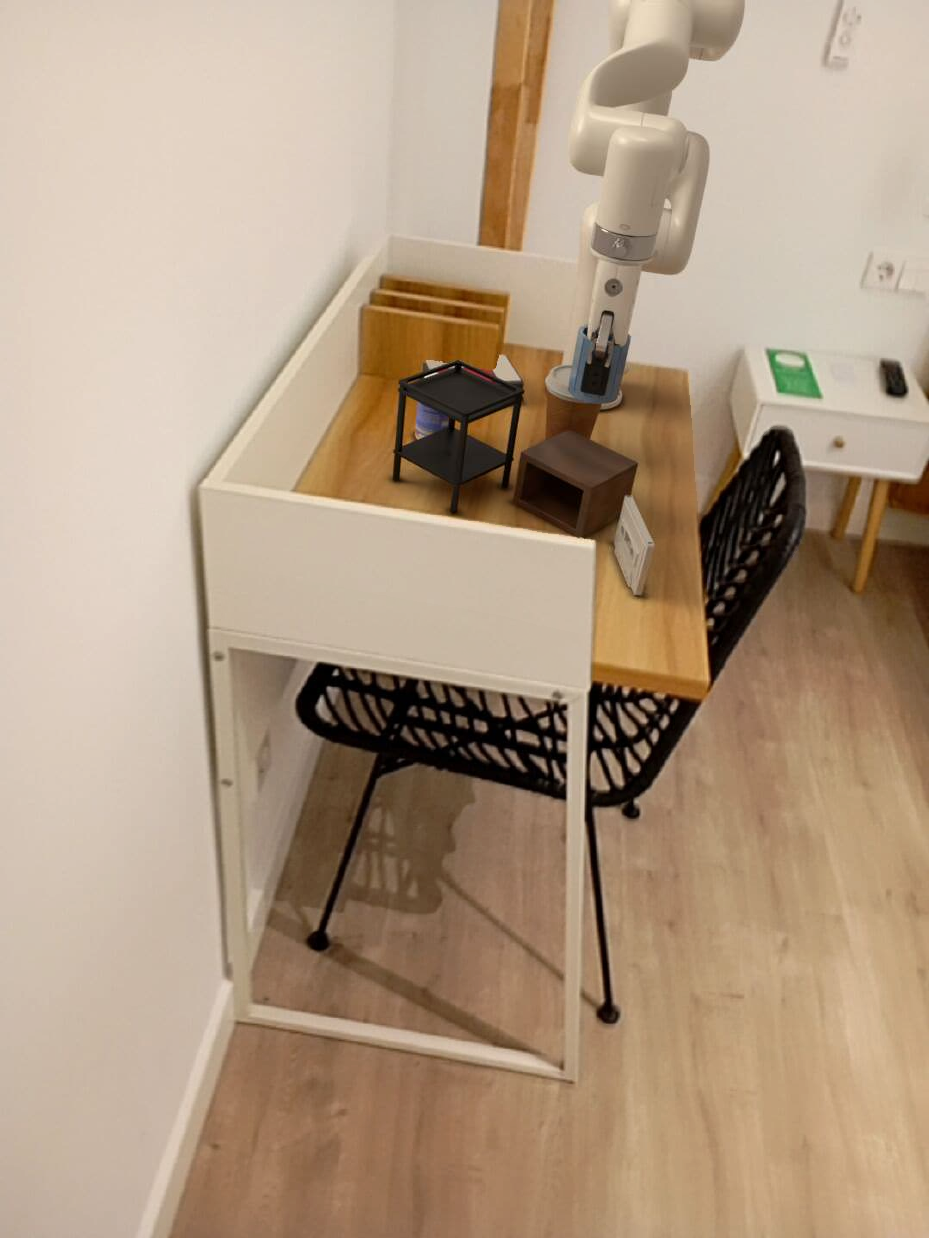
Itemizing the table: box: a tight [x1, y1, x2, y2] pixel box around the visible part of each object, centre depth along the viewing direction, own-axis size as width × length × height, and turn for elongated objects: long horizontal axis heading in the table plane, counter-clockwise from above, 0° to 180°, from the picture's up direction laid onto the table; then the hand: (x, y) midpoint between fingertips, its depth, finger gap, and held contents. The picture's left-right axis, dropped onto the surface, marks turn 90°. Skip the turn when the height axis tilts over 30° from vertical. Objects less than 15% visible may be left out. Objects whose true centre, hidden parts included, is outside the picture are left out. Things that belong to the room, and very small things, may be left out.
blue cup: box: [568, 324, 632, 404], centre depth 130 cm, size 7×7×8 cm
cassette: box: [613, 495, 655, 596], centre depth 129 cm, size 12×2×8 cm, turn 6°
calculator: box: [420, 354, 525, 398], centre depth 169 cm, size 11×4×15 cm
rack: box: [392, 360, 526, 515], centre depth 140 cm, size 12×12×15 cm
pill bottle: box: [414, 373, 449, 440], centre depth 151 cm, size 5×5×10 cm
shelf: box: [512, 430, 639, 539], centre depth 140 cm, size 11×12×8 cm
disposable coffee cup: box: [544, 364, 602, 441], centre depth 153 cm, size 10×10×12 cm
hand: (595, 380), depth 131 cm, fingers closed on blue cup, 6 cm apart
